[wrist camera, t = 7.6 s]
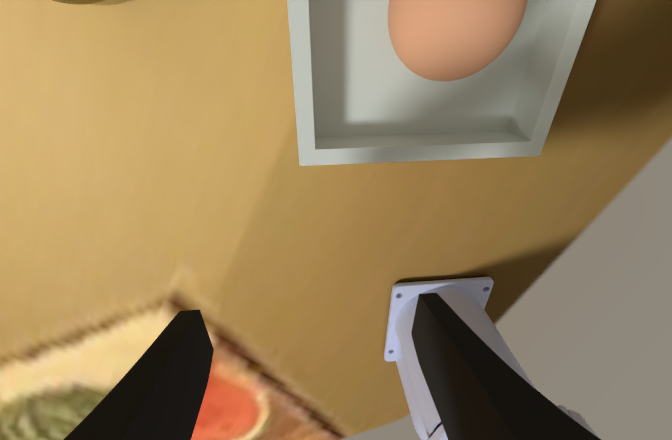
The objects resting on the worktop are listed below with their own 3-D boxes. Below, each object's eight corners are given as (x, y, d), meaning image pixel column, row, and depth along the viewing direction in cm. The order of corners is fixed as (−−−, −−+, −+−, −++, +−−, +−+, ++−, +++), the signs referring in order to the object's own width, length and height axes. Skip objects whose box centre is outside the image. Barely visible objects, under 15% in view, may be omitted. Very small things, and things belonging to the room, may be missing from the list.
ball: (462, 76, 16) (531, 91, 11) (368, 73, 15) (404, 88, 11) (491, -53, 13) (595, -96, 9) (379, -64, 12) (434, -118, 8)
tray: (512, 141, 18) (539, 155, 16) (300, 149, 17) (299, 165, 15) (612, -189, 11) (683, -239, 9) (274, -206, 10) (267, -265, 8)
